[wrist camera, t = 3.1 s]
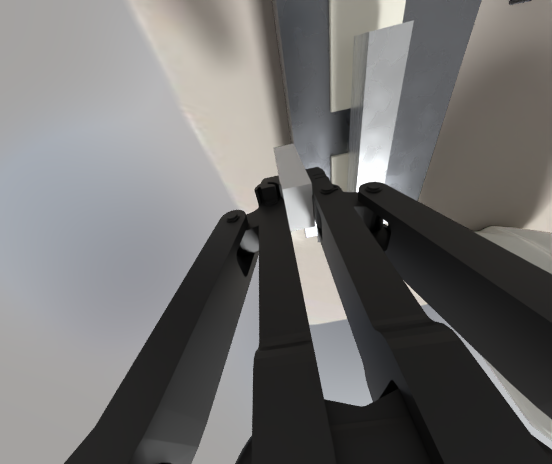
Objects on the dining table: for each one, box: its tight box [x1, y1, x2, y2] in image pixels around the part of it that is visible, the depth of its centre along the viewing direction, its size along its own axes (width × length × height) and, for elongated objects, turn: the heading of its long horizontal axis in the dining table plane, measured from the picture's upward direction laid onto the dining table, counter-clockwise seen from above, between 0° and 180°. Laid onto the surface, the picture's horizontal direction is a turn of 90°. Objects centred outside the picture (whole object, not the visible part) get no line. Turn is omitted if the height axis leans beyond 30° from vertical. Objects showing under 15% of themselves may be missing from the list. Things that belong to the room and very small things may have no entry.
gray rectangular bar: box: [347, 20, 414, 192], centre depth 19 cm, size 19×2×3 cm, turn 11°
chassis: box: [272, 0, 481, 238], centre depth 20 cm, size 24×14×4 cm, turn 11°
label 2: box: [329, 0, 406, 112], centre depth 15 cm, size 7×5×1 cm
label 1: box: [331, 153, 349, 192], centre depth 22 cm, size 7×5×1 cm
